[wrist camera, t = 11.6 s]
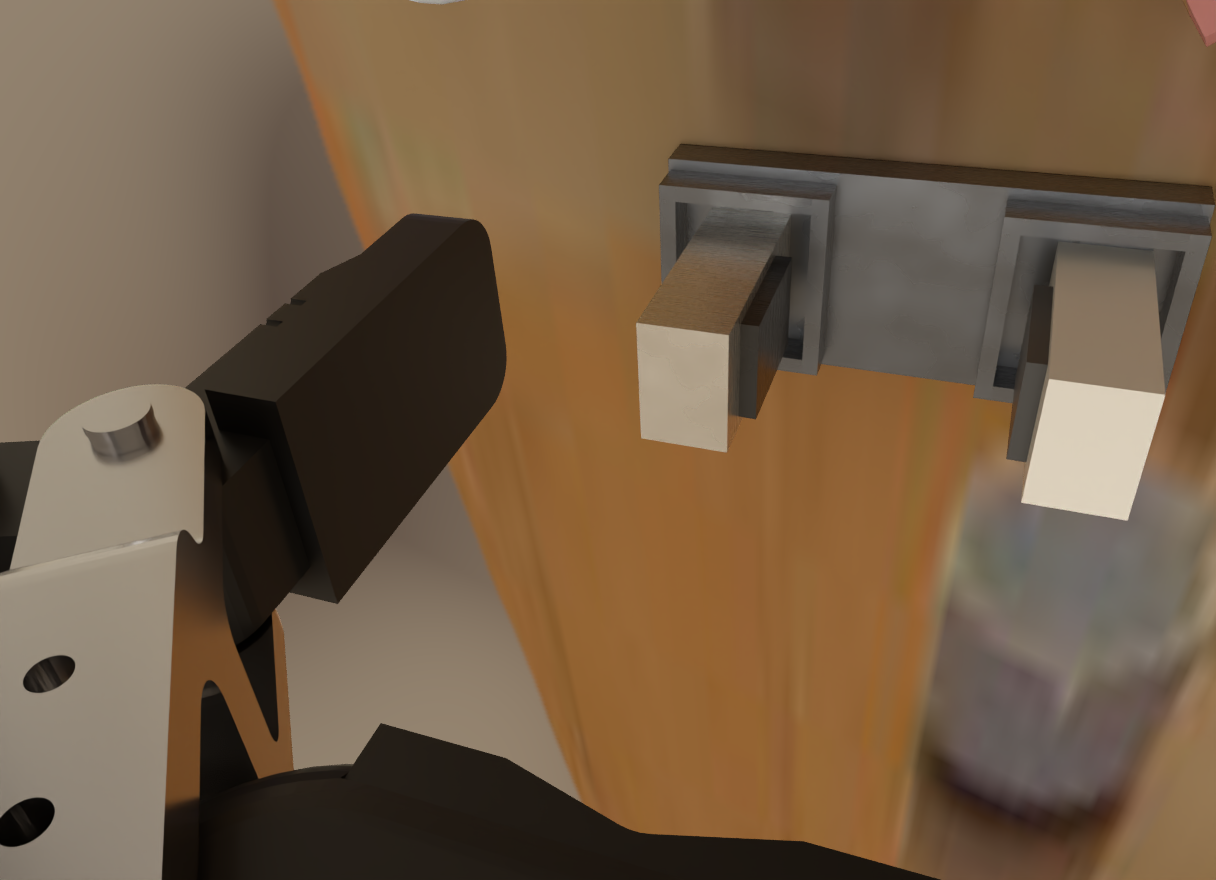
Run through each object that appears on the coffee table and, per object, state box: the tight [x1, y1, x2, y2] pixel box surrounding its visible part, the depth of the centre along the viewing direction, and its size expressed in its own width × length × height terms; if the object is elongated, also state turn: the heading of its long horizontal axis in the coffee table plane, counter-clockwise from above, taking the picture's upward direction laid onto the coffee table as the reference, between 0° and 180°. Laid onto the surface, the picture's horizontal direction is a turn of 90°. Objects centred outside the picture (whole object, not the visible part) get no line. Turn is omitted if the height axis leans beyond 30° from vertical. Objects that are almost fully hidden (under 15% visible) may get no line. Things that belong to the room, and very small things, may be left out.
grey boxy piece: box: [636, 144, 1215, 452], centre depth 37 cm, size 18×8×10 cm, turn 93°
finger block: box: [1006, 241, 1165, 520], centre depth 35 cm, size 4×4×9 cm
